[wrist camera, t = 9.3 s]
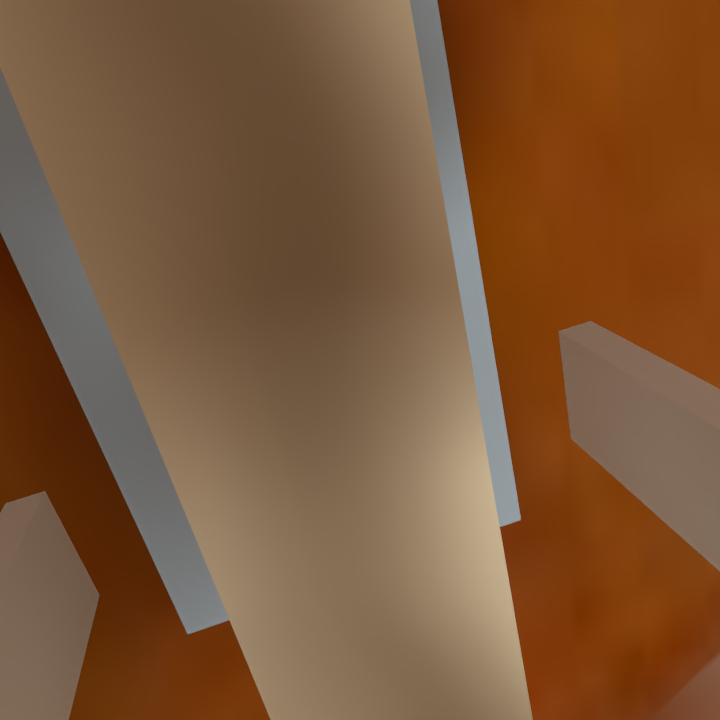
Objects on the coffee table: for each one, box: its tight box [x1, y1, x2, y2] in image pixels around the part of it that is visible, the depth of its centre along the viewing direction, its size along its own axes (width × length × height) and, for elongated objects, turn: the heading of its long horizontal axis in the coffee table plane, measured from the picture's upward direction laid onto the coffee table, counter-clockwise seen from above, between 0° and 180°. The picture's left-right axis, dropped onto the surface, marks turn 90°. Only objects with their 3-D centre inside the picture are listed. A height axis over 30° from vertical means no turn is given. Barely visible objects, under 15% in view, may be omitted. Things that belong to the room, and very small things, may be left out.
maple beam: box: [0, 0, 533, 720], centre depth 14 cm, size 5×22×7 cm, turn 13°
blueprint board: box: [0, 0, 521, 634], centre depth 21 cm, size 16×26×8 cm, turn 13°
